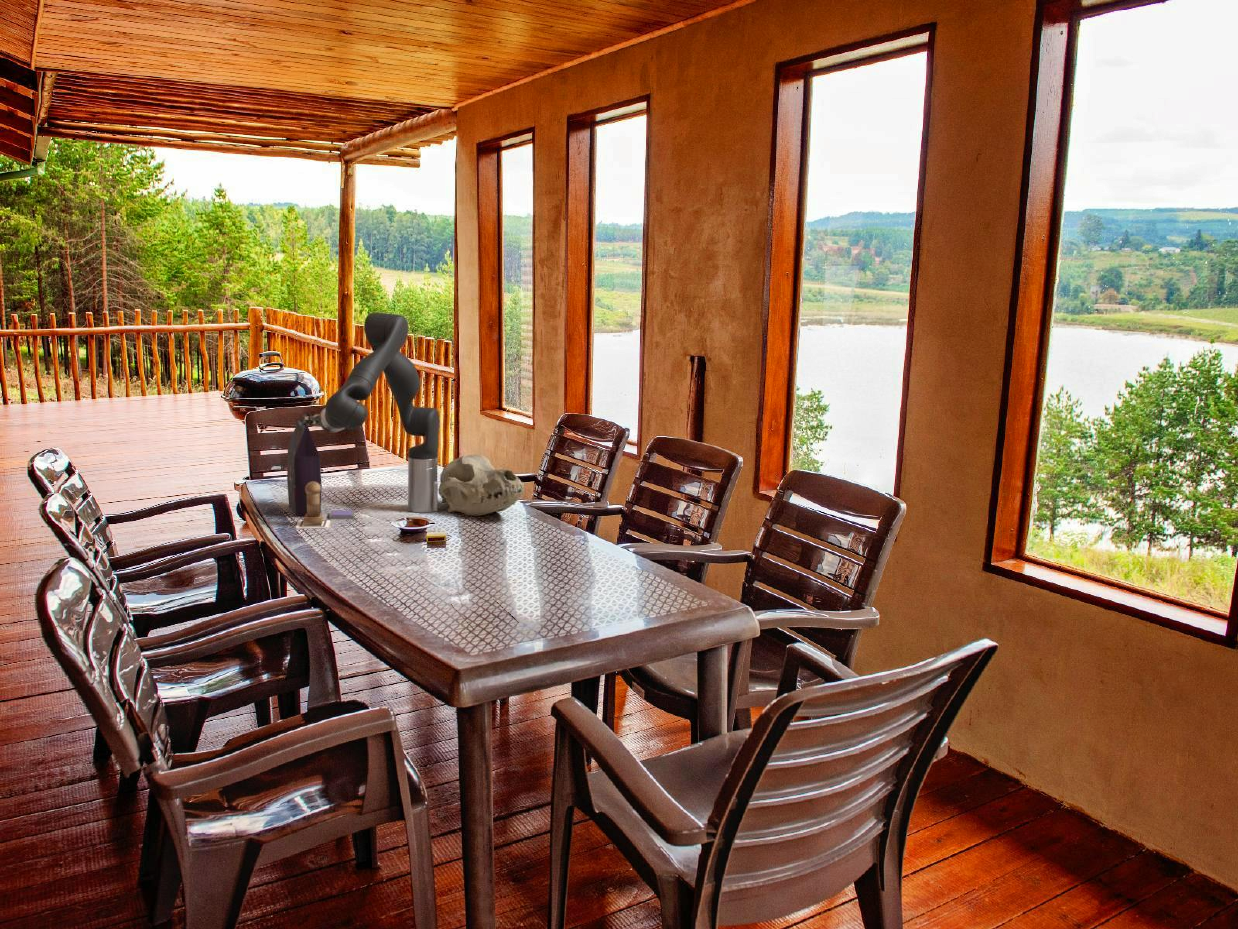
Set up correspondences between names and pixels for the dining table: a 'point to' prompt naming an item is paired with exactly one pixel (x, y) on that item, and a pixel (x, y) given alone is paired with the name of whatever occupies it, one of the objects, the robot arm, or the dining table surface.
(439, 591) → the dining table surface
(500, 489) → the animal skull
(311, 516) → the stamp
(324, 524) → the sheet
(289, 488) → the purple printed bag
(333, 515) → the ink pad
